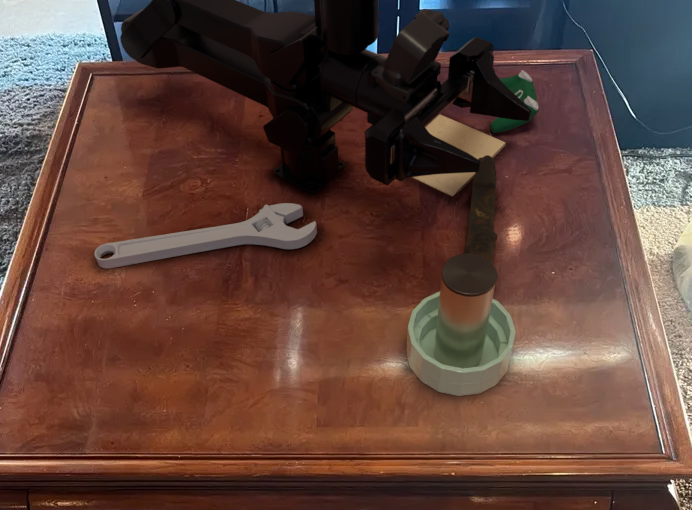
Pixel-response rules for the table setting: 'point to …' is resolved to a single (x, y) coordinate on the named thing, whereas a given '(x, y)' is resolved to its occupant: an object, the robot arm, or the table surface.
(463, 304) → the tin
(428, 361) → the bowl
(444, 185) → the plate
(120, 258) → the adjustable wrench
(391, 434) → the table surface
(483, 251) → the hand tool
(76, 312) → the table surface
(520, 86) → the gaming controller
